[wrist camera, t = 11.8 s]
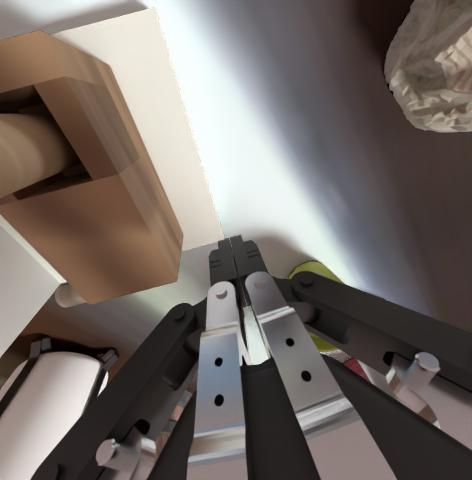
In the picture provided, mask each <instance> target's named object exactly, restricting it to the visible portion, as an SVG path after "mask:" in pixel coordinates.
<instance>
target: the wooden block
mask: <svg viewBox="0 0 472 480" xmlns="http://www.w3.org/2000/svg"><path fill="white" fill-rule="evenodd" d="M55 299H56V301H57V303H58V304H59V305H60V306H62V307H70V306H74V305H78V304H82V303H86V301H85V300H84V299H83V298H82V297H81V296H80V294H79V293H78V292H77V291H76V290H75V289H74V288H73V287H72V286H71V285H70V284H69V283H65V284H62V285H60V286H59V287H58V288H57V290H56V292H55Z"/></svg>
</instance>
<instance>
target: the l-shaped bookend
mask: <svg viewBox="0 0 472 480" xmlns="http://www.w3.org/2000/svg"><path fill="white" fill-rule="evenodd" d="M50 35H51V36H53V37H55V38H57V39H59V40H61V41H63V42H65V43H67V44H69V45H71V46H73V47H75V48H77V49H79V50H81V51H83V52H85V53H87V54H89V55H91V56H93V57H95V58H97V59H99V60H101V61H103V62H104V63H106V64H108V65H110V67H111V69H112V71H113V73H114V76H115V78H116V80H117V83H118V85H119V87H120V90H121V92H122V94H123V96H124V99H125V101H126V103H127V106H128V108H129V110H130V112H131V115H132V117H133V119H134V122H135V124H136V126H137V129H138V131H139V133H140V135H141V138H142V140H143V142H144V145H145V147H146V149H147V151H148V154H149V156H150V158H151V161H152V163H153V165H154V168H155V170H156V172H157V174H158V177H159V179H160V181H161V184H162V186H163V188H164V190H165V193H166V195H167V197H168V200H169V202H170V204H171V207H172V209H173V211H174V213H175V216H176V218H177V220H178V223H179V225H180V227H181V230H182V232H183V234H184V237H183V244H182V251H186V250H190V249H194V248H197V247H201V246H205V245H209V244H213V243H216V242H218V241H220V240H223V239H224V234H223V230H222V227H221V224H220V220H219V217H218V214H217V210H216V207H215V204H214V200H213V197H212V194H211V190H210V187H209V184H208V180H207V177H206V174H205V170H204V167H203V164H202V160H201V157H200V154H199V150H198V147H197V144H196V140H195V137H194V134H193V130H192V127H191V124H190V120H189V117H188V114H187V110H186V107H185V104H184V100H183V97H182V94H181V90H180V87H179V84H178V80H177V77H176V74H175V70H174V67H173V64H172V60H171V57H170V53H169V50H168V47H167V43H166V40H165V37H164V33H163V30H162V27H161V23H160V20H159V17H158V15H157V12H156V10H155V8H154V7H153V8H149V9H146V10H142V11H138V12H134V13H130V14H127V15H123V16H119V17H115V18H111V19H107V20H104V21H100V22H96V23H92V24H88V25H84V26H81V27H77V28H73V29H69V30H65V31H61V32H58V33H54V34H50ZM182 251H181V252H182ZM65 282H67V281H66V280H65V279H64V278H63V277H62V276H61V275H60V274H59V273H58V272H57V271H56V270H55V269H54V268H53V267H52V266H51V265H50V264H49V263H48V262H47V261H46V260H45V259H44V258H43V257H42V256H41V255H40V254H39V253H38V252H37V251H36V250H35V249H34V248H33V247H32V246H31V245H30V244H29V243H28V242H27V241H26V240H25V239H24V238H23V237H22V236H21V235H20V234H19V233H18V232H17V231H16V230H15V229H14V228H13V227H12V226H11V225H10V224H9V223H8V222H7V221H6V220H5V219H4V218H3V217H2V216H1V215H0V357H1V356H2V355H3V354H4V352H5V351H6V350H7V349H8V347H9V346H10V345H11V344H12V343H13V341H14V340H15V339H16V338H17V336H18V335H19V334H20V333H21V332H22V330H23V329H24V328H25V327H26V325H27V324H28V323H29V322H30V321H31V319H32V318H33V317H34V316H35V314H36V313H37V312H38V311H39V310H40V308H41V307H42V306H43V305H44V303H45V302H46V301H47V300H48V299H49V297H50V296H51V295H52V294H53V292H54V291H55V290H56V289H57V288H58V286H59V285H60V284H61V283H65Z"/></svg>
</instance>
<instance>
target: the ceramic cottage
mask: <svg viewBox="0 0 472 480" xmlns="http://www.w3.org/2000/svg"><path fill="white" fill-rule="evenodd" d="M397 30H398V32H397V34H396V35H395V37H394V40H392V42H391V44H390V47H389V49H388V52H387V55H386V59H385V67H384V68H385V70H384V73H385V74H384V75H385V76H386V78H385V79H386V83H389V84H390V85H389V89H390V91H391V90H392V91H393V92H394V93H393V95H394V97H395V99H396V101H397V103H398V104H399V105H400V107H401V109H402V110H403V114H404V115H406V116H405V117H406V119H407V120H409V121H410V123H411V124H412V125H413V126H414V127H415V128H420V129H424V130H433V131H437V132H458V131H461V132H466V131H472V0H414V2H413V3H412V5H411V6H410V12H409V13H408V15H407V17H406V18H405V20H404V21H403V23H402V25H401V26H400V27H399V28H398V29H397Z"/></svg>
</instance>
